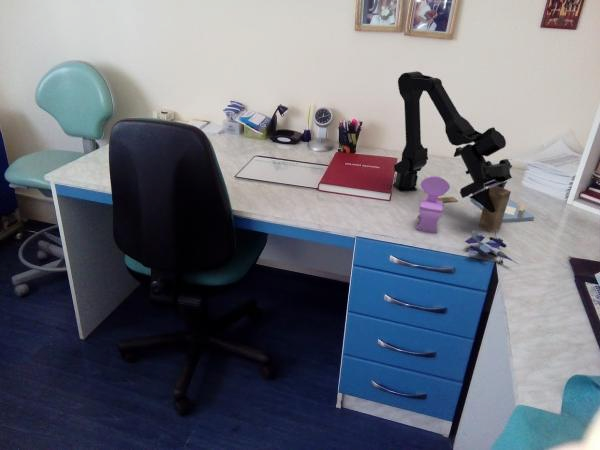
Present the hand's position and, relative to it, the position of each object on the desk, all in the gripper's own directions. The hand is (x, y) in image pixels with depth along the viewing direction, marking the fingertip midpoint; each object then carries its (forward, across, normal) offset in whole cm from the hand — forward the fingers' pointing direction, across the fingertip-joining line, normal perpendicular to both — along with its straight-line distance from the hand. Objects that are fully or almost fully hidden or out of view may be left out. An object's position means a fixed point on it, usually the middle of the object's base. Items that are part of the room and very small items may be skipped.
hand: (498, 209), depth 140 cm
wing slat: (-10, +3, +20) cm, 22 cm away
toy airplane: (+11, -15, -1) cm, 19 cm away
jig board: (0, +14, +9) cm, 17 cm away
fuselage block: (+4, 0, +6) cm, 7 cm away
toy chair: (-4, -16, +14) cm, 21 cm away
